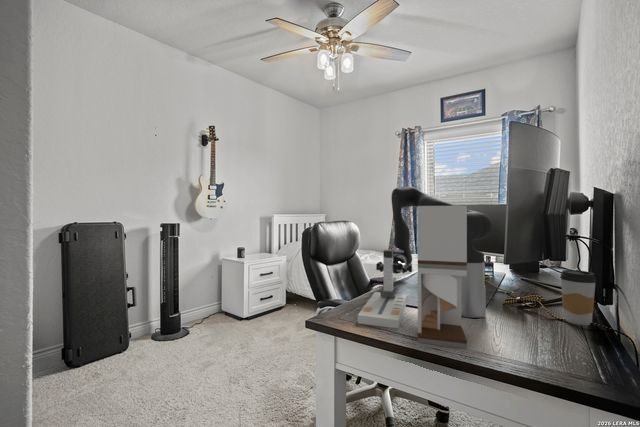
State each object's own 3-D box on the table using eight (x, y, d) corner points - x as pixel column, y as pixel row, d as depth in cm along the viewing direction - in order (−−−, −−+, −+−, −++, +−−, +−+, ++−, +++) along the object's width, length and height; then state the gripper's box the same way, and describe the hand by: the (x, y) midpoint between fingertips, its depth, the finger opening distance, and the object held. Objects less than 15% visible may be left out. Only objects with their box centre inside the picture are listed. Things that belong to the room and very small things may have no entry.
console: (407, 301, 113) (407, 294, 113) (398, 328, 87) (398, 319, 87) (374, 298, 117) (374, 291, 117) (357, 323, 91) (357, 314, 91)
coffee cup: (596, 321, 91) (596, 271, 91) (596, 329, 85) (596, 276, 85) (561, 315, 97) (561, 268, 97) (558, 322, 91) (558, 272, 91)
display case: (417, 342, 77) (417, 206, 77) (417, 327, 88) (417, 206, 87) (466, 348, 74) (466, 205, 74) (460, 331, 84) (460, 206, 84)
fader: (396, 295, 110) (396, 250, 110) (394, 298, 106) (394, 251, 106) (382, 293, 112) (382, 249, 112) (380, 296, 108) (380, 251, 108)
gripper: (380, 254, 136) (374, 259, 121) (413, 255, 131) (411, 261, 116) (380, 270, 136) (374, 278, 121) (413, 272, 131) (411, 280, 116)
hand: (392, 269), depth 119 cm, fingers open, 8 cm apart
